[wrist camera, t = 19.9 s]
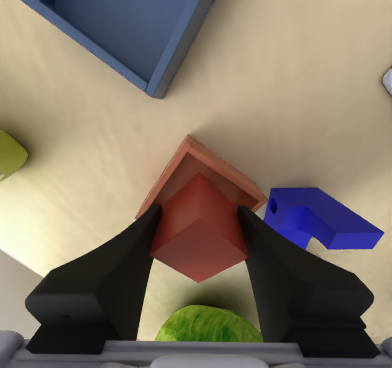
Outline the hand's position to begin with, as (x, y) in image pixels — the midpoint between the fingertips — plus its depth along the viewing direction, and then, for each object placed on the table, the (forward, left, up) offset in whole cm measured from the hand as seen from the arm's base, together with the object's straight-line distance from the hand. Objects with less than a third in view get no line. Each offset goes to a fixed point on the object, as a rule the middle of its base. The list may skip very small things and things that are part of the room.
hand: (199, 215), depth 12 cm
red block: (0, 0, -1) cm, 1 cm away
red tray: (0, 0, -4) cm, 4 cm away
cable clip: (-11, -1, -4) cm, 12 cm away
